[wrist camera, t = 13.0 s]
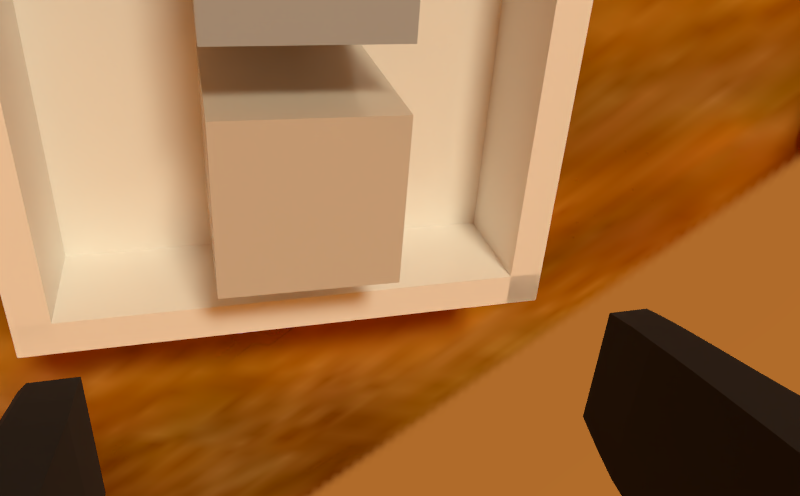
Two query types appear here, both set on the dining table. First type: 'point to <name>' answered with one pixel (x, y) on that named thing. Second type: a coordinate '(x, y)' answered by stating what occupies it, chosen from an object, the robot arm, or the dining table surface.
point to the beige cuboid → (302, 168)
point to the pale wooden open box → (186, 181)
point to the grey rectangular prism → (305, 22)
